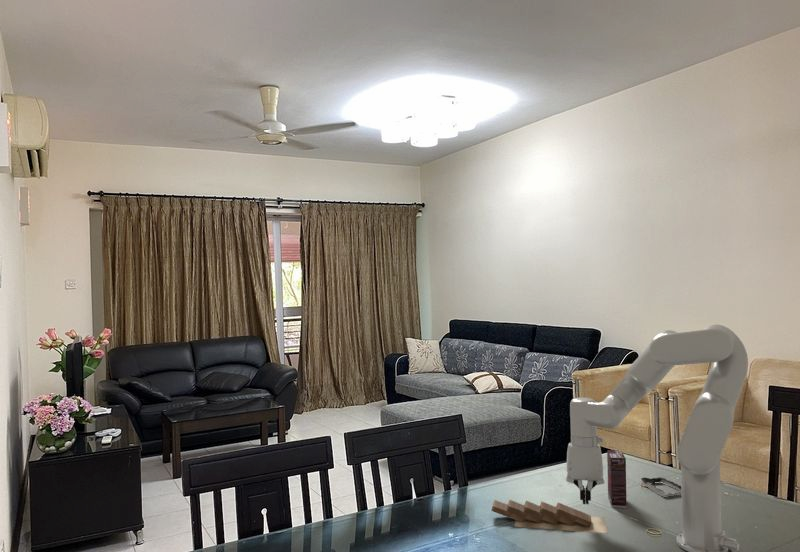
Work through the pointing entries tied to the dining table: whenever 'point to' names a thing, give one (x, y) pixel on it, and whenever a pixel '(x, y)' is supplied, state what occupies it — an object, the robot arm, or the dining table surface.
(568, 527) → the light wooden board
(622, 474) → the supplement box
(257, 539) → the dining table surface
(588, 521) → the domino
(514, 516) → the domino
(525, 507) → the domino
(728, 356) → the robot arm
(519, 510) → the domino
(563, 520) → the domino
